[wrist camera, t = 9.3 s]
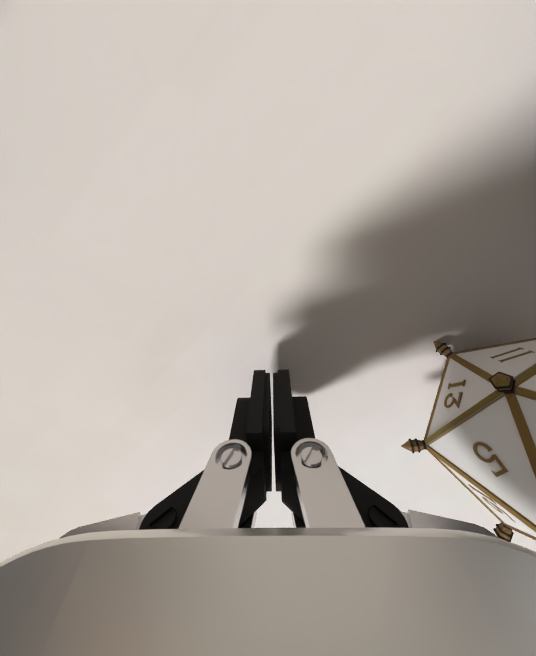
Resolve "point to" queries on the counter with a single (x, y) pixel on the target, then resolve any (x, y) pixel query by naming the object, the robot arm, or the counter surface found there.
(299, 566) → the robot arm
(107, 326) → the counter surface
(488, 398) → the game die
